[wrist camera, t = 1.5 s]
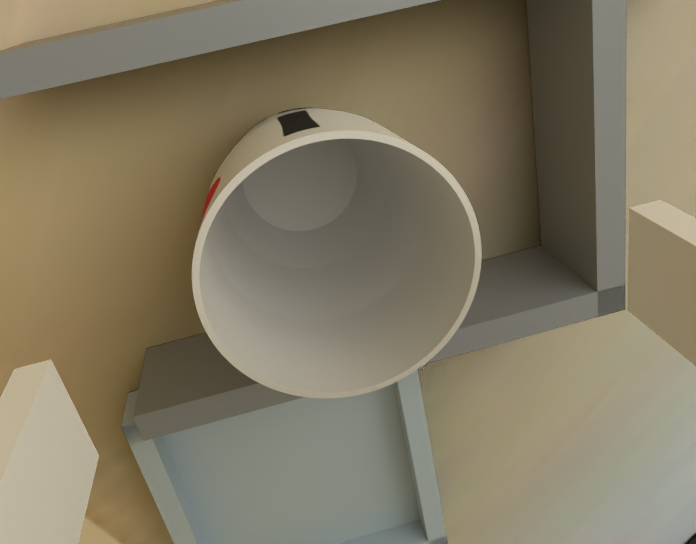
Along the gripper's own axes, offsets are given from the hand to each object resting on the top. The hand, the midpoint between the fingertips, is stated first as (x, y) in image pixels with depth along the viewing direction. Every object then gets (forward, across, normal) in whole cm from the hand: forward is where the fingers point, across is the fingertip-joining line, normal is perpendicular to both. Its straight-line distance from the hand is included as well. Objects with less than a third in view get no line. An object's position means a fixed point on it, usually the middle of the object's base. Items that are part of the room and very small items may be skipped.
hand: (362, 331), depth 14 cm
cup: (+14, 0, 0) cm, 14 cm away
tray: (+13, +3, +15) cm, 20 cm away
